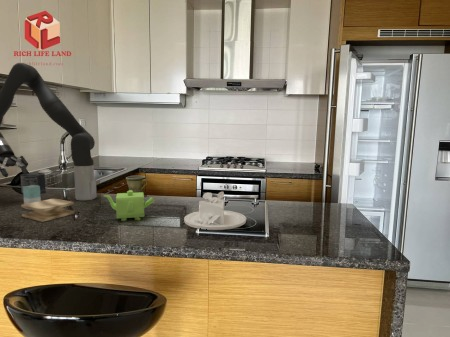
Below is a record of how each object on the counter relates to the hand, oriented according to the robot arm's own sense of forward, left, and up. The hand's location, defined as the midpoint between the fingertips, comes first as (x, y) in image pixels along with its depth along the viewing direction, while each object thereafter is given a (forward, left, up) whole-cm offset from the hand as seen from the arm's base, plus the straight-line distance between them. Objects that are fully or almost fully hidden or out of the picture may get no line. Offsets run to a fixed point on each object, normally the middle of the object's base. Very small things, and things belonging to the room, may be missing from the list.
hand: (16, 175), depth 152 cm
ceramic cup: (-51, -21, -14) cm, 57 cm away
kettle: (-58, +21, -14) cm, 63 cm away
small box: (+8, -27, -14) cm, 32 cm away
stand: (-23, +17, -14) cm, 32 cm away
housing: (-10, +6, -14) cm, 18 cm away
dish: (-93, +24, -15) cm, 97 cm away
